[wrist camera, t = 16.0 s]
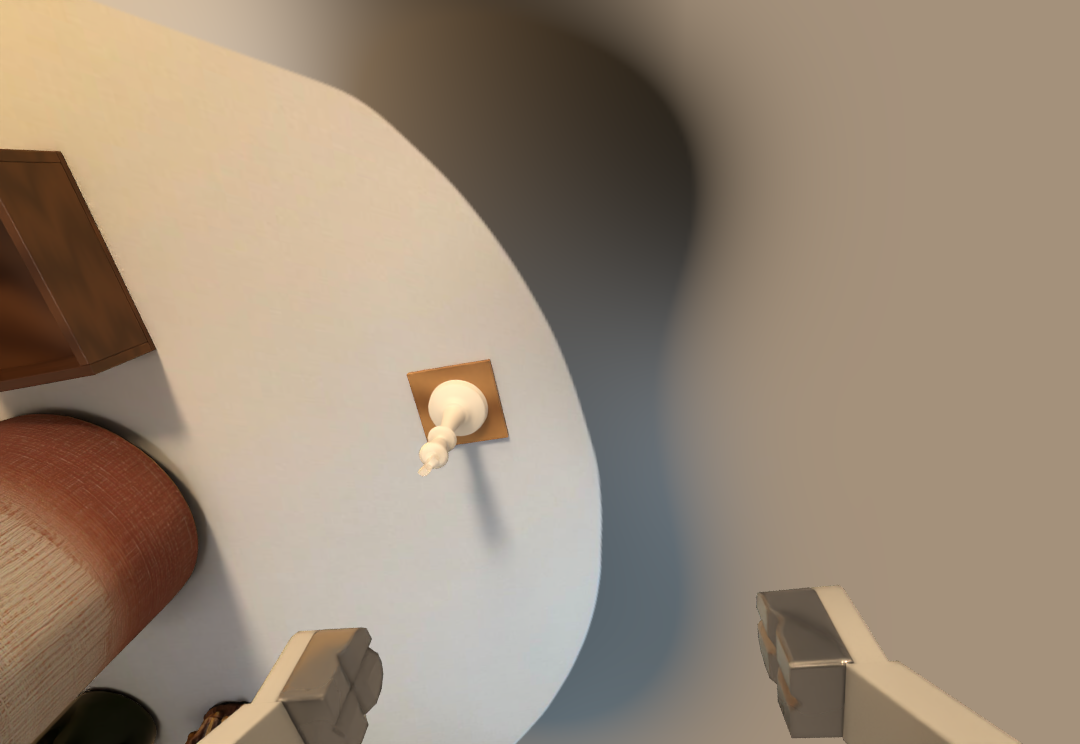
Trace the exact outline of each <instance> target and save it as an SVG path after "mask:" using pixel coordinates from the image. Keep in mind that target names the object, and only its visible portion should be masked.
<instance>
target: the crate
mask: <svg viewBox="0 0 1080 744" xmlns="http://www.w3.org/2000/svg"><path fill="white" fill-rule="evenodd" d="M153 350H155V346H154V344H153V342H152V340H151V338H150V336H149V334H148V332H147V330H146V328H145V326H144V324H143V322H142V320H141V317H140V315H139V313H138V311H137V309H136V307H135V305H134V303H133V301H132V299H131V297H130V295H129V293H128V290H127V288H126V286H125V284H124V282H123V280H122V278H121V276H120V274H119V272H118V270H117V268H116V266H115V263H114V261H113V259H112V257H111V255H110V253H109V251H108V249H107V247H106V245H105V243H104V241H103V239H102V236H101V234H100V232H99V230H98V228H97V226H96V224H95V222H94V220H93V218H92V216H91V214H90V212H89V210H88V207H87V205H86V203H85V201H84V199H83V197H82V195H81V193H80V191H79V189H78V187H77V185H76V183H75V180H74V178H73V176H72V174H71V172H70V170H69V168H68V166H67V164H66V162H65V160H64V158H63V156H62V153H61V152H60V151H36V150H13V149H0V392H3V391H8V390H14V389H19V388H25V387H30V386H36V385H41V384H47V383H52V382H58V381H63V380H69V379H74V378H80V377H85V376H91V375H95V374H98V373H100V372H103V371H105V370H107V369H110V368H112V367H115V366H117V365H119V364H122V363H124V362H127V361H129V360H131V359H134V358H136V357H139V356H141V355H143V354H146V353H148V352H151V351H153Z"/></svg>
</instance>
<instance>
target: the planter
mask: <svg viewBox="0 0 1080 744" xmlns="http://www.w3.org/2000/svg"><path fill="white" fill-rule="evenodd" d="M197 555H198V535H197V529H196V525H195V522H194V518H193V515H192V513H191V510H190V508H189V506H188V504H187V502H186V500H185V499H184V497H183V495H182V494H181V492H180V490H179V489H178V487H177V486H176V484H175V483H174V482H173V480H172V479H171V478H170V477H169V476H168V475H167V473H166V472H165V471H164V470H163V469H162V468H161V467H160V466H159V465H158V464H157V463H156V462H155V461H154V460H153V459H151V458H150V457H149V456H148V455H147V454H146V453H144V452H143V451H142V450H140V449H139V448H137V447H136V446H135V445H133V444H132V443H130V442H128V441H127V440H125V439H123V438H122V437H120V436H118V435H117V434H115V433H113V432H111V431H109V430H107V429H104V428H102V427H100V426H97V425H95V424H92V423H89V422H86V421H83V420H79V419H76V418H72V417H67V416H61V415H52V414H29V415H22V416H18V417H14V418H10V419H7V420H3V421H0V744H31V743H32V742H33V741H34V740H35V739H36V738H37V737H38V736H39V735H40V734H41V733H42V732H43V731H44V730H45V729H46V727H47V726H48V725H49V724H50V723H51V722H52V721H53V720H54V719H55V718H56V717H57V716H58V715H59V714H60V713H61V712H62V711H63V710H64V709H65V708H66V707H67V706H68V705H69V704H70V703H71V702H72V701H73V700H74V699H75V698H76V697H77V696H78V695H79V694H80V693H81V692H82V691H83V690H84V688H85V687H86V686H87V685H88V684H89V683H90V682H91V681H92V680H93V679H94V678H95V677H96V676H97V675H98V674H99V673H100V672H101V671H102V670H103V669H104V668H105V667H106V666H107V665H108V664H109V663H110V662H111V661H112V660H113V659H114V658H115V657H116V656H117V655H118V654H119V653H120V652H121V651H122V650H123V649H124V648H125V647H126V646H127V645H128V644H129V643H130V642H131V641H132V640H133V639H134V638H135V637H136V636H137V635H138V634H139V633H140V632H141V631H142V630H143V629H144V628H145V627H146V626H147V624H148V623H149V622H150V621H151V620H152V619H153V618H154V617H155V616H156V615H157V614H158V613H159V612H160V611H161V610H162V609H163V608H164V607H165V606H166V605H167V604H168V603H169V602H170V601H171V600H172V599H173V598H174V597H175V595H176V594H177V593H178V592H179V591H180V590H181V588H182V587H183V586H184V584H185V583H186V582H187V580H188V579H189V577H190V576H191V574H192V572H193V570H194V567H195V564H196V561H197Z"/></svg>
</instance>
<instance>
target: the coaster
mask: <svg viewBox="0 0 1080 744" xmlns="http://www.w3.org/2000/svg"><path fill="white" fill-rule="evenodd" d="M407 377H408V380H409V383H410V387H411V390H412V393H413V396H414V400H415V403H416V406H417V409H418V413H419V416H420V419H421V422H422V425H423V429H424V432H425V435H426V438H427V442H428V434H429V432H430V430H431V429H432V428H434V427H437V426H436V425H435V424H434V423H433V421H432V420H431V417H430V415H429V410H428V405H429V400H430V397H431V394H432V392H433V391H434V390H435V388H436V387H437V386H439V385H440V384H442V383H444V382H446V381H449V380H463V381H466V382H469V383H471V384H473V385H475V386H476V387H477V388H478V389H479V390H480V391H481V392H482V393H483V395H484V396H485V398H486V401H487V404H488V414H487V418H486V420H485V422H484V423H483V424H482V426H481V427H480V428H479V429H478V430H477V431H475V432H474V433H472V434H469V435H466V436H456V438H457V442H456V445H458V444H465V443H472V442H478V441H485V440H492V439H499V438H506V437H508V431H507V427H506V423H505V419H504V415H503V411H502V407H501V403H500V398H499V394H498V390H497V386H496V382H495V378H494V374H493V370H492V366H491V362H490V359H488V360H482V361H476V362H470V363H464V364H458V365H453V366H447V367H441V368H435V369H429V370H423V371H417V372H411V373H408V374H407Z"/></svg>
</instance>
